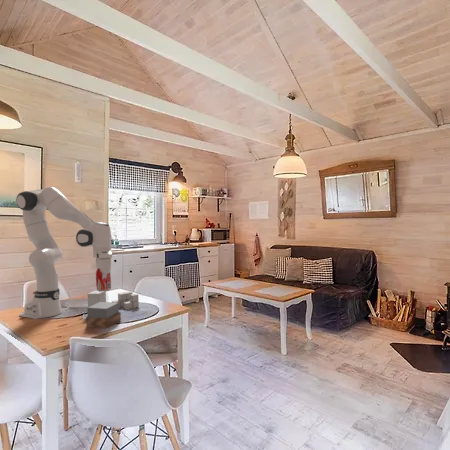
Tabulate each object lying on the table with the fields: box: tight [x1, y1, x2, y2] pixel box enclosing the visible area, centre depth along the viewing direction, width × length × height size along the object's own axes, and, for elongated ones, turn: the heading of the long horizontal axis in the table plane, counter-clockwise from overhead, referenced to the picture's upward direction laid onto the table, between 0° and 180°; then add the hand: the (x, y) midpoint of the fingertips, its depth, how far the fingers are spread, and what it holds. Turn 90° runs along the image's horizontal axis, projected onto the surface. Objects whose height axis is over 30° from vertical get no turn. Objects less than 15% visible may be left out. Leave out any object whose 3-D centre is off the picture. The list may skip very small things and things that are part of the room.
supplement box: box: [87, 290, 107, 308], centre depth 181 cm, size 7×7×13 cm
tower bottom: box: [86, 311, 122, 329], centre depth 165 cm, size 12×12×5 cm
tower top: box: [86, 301, 120, 319], centre depth 164 cm, size 11×11×5 cm
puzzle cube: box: [111, 291, 140, 311], centre depth 194 cm, size 12×12×8 cm
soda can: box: [95, 268, 112, 292], centre depth 163 cm, size 7×7×12 cm
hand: (102, 279), depth 164 cm, fingers closed on soda can, 6 cm apart
